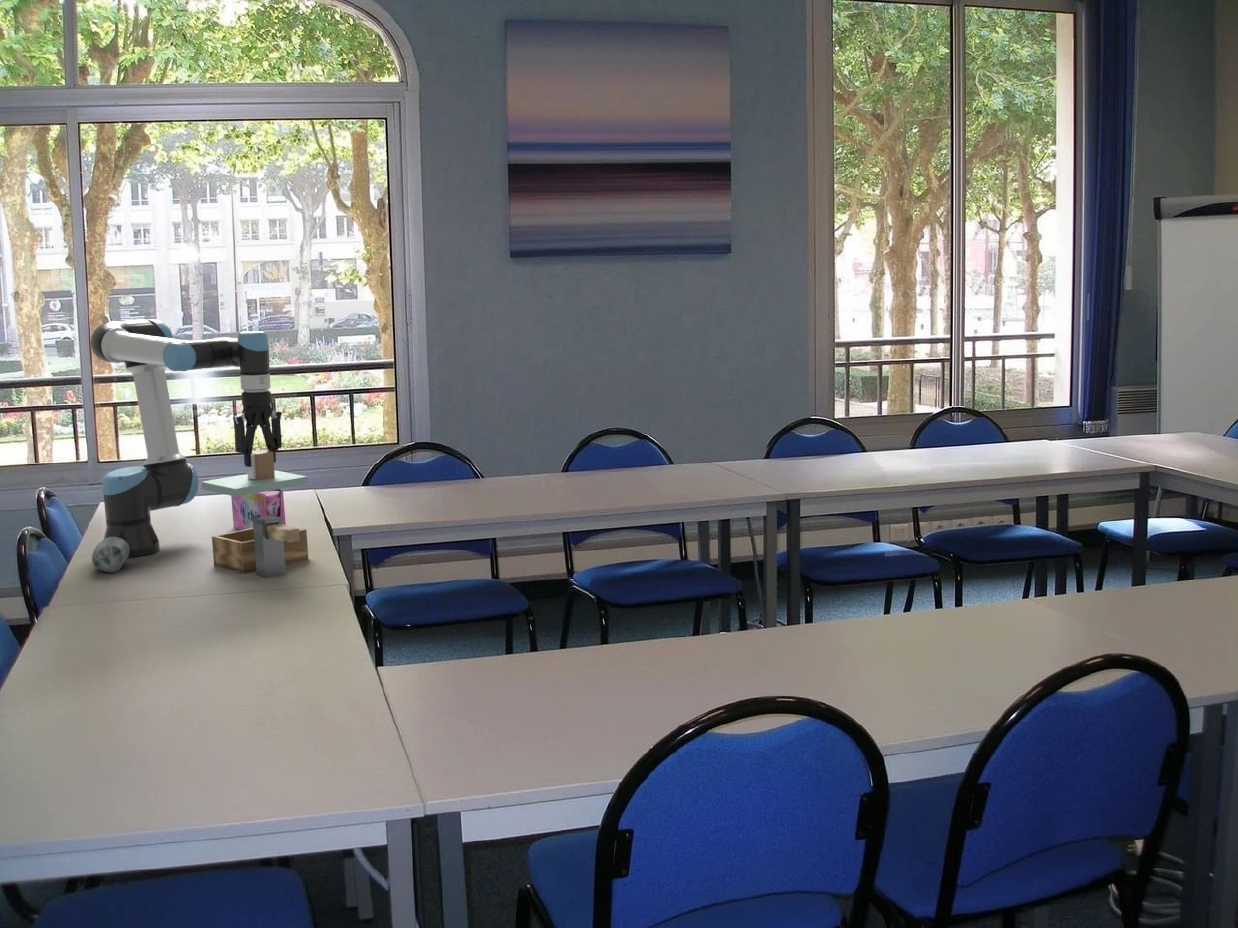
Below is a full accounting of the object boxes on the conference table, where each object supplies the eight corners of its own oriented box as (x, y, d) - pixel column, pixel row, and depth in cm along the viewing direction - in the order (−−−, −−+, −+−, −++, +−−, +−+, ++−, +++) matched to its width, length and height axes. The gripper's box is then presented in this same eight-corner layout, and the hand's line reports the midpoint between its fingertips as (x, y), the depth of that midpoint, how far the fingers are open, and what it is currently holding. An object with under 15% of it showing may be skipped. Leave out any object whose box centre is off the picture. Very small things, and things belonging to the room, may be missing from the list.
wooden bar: (254, 534, 318) (254, 523, 318) (264, 532, 320) (264, 521, 320) (289, 542, 308) (288, 530, 308) (299, 540, 311) (298, 528, 310)
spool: (129, 561, 322) (110, 528, 322) (95, 580, 320) (76, 547, 321) (144, 561, 335) (126, 530, 335) (112, 579, 334) (94, 547, 334)
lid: (201, 489, 326) (199, 455, 324) (273, 477, 342) (271, 444, 341) (235, 496, 316) (233, 462, 314) (307, 483, 332) (306, 450, 331)
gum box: (289, 536, 364) (286, 490, 361) (263, 540, 359) (260, 494, 357) (257, 523, 382) (254, 480, 380) (232, 527, 377) (229, 483, 375)
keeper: (256, 575, 317) (252, 518, 315) (276, 571, 322) (272, 514, 319) (265, 578, 315) (261, 520, 312) (285, 573, 319) (281, 516, 317)
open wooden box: (214, 565, 329) (211, 536, 328) (278, 551, 344) (276, 523, 343) (243, 573, 320) (241, 543, 319) (308, 558, 335) (306, 529, 334)
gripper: (234, 394, 317) (239, 483, 321) (293, 388, 331) (298, 473, 335) (217, 392, 322) (223, 480, 326) (276, 386, 335) (281, 470, 339)
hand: (261, 476), depth 330 cm, fingers closed on lid, 5 cm apart
